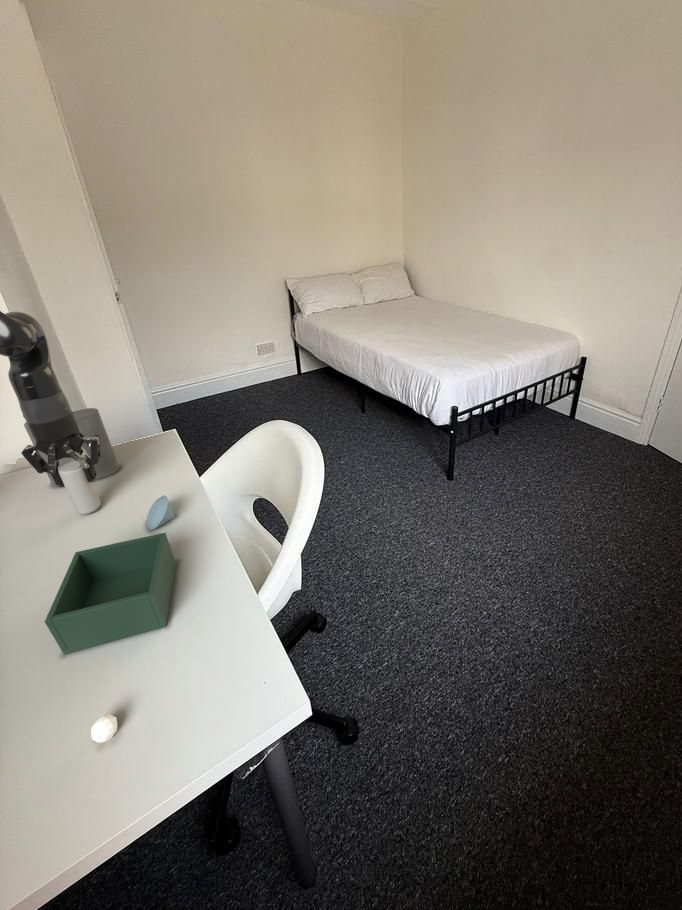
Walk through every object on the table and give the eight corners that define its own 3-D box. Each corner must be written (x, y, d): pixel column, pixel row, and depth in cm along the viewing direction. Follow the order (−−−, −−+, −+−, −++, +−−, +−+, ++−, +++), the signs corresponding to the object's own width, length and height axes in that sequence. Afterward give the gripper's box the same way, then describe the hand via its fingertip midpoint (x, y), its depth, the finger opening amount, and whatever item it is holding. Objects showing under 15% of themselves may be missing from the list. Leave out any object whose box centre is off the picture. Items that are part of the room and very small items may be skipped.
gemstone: (183, 493, 95) (161, 487, 92) (186, 516, 90) (164, 510, 86) (163, 517, 96) (142, 512, 93) (166, 541, 91) (143, 536, 87)
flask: (49, 490, 103) (14, 419, 93) (55, 478, 107) (22, 409, 98) (118, 475, 108) (92, 406, 99) (120, 464, 113) (95, 397, 104)
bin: (64, 655, 65) (44, 622, 61) (90, 583, 77) (75, 552, 73) (166, 626, 69) (153, 594, 65) (175, 562, 81) (165, 532, 77)
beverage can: (71, 512, 94) (51, 468, 88) (91, 500, 98) (74, 457, 92) (86, 517, 92) (66, 473, 87) (106, 504, 96) (89, 461, 91)
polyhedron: (125, 721, 56) (118, 708, 55) (113, 747, 53) (105, 734, 52) (103, 722, 56) (95, 710, 55) (90, 748, 53) (82, 736, 52)
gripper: (94, 401, 89) (118, 467, 97) (14, 411, 85) (46, 479, 93) (83, 416, 83) (110, 485, 90) (-3, 427, 79) (32, 499, 87)
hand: (77, 482), depth 92 cm, fingers closed on beverage can, 5 cm apart
